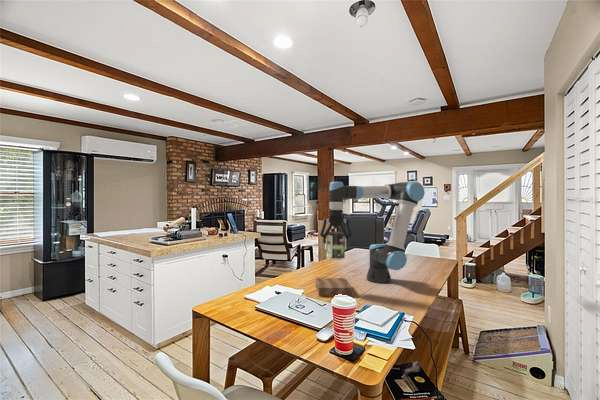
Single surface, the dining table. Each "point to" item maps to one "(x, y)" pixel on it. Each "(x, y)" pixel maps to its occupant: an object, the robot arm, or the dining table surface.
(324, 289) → the walnut block
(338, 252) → the coffee can
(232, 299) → the dining table surface
